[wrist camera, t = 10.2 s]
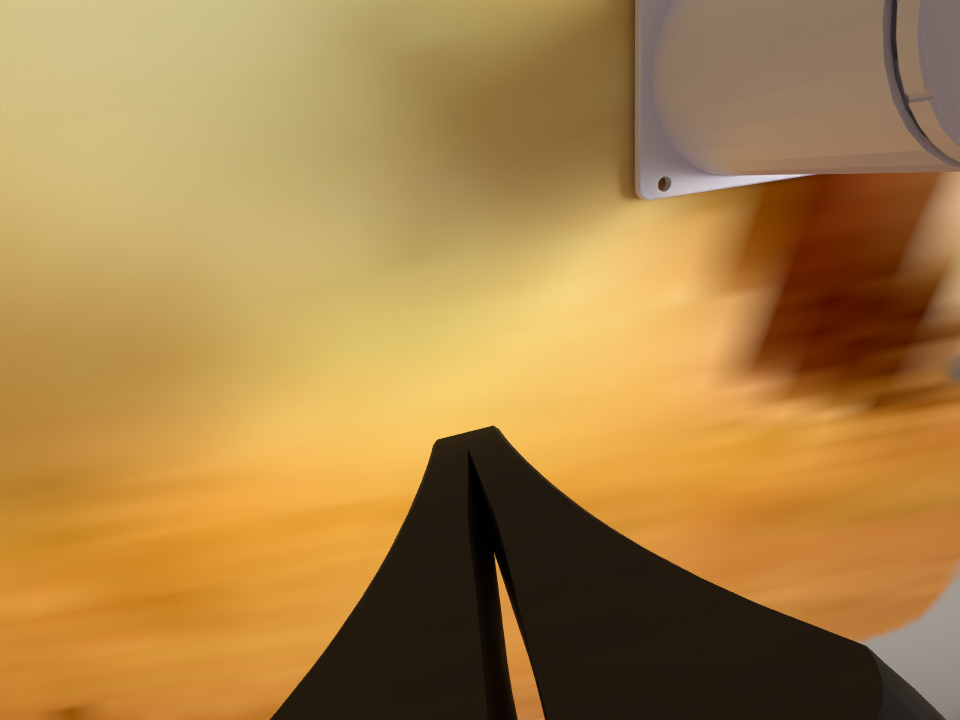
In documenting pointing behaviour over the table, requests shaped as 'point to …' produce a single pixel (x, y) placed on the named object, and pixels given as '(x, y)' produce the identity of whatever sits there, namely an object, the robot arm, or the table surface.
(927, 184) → the table surface
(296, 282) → the table surface
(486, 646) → the robot arm
